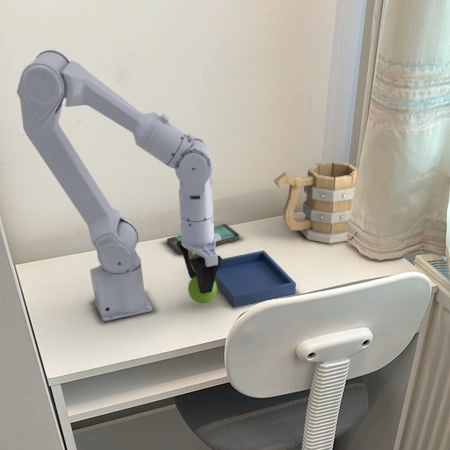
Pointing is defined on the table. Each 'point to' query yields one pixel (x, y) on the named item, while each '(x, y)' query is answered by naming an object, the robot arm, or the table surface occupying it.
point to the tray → (252, 279)
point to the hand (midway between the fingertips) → (200, 284)
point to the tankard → (321, 201)
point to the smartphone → (223, 230)
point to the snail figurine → (194, 287)
